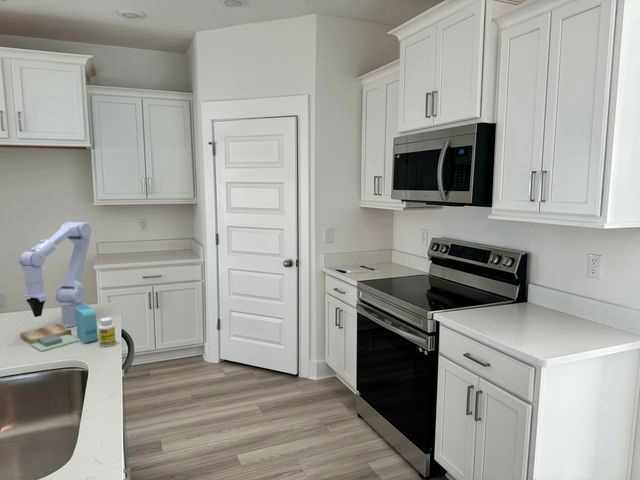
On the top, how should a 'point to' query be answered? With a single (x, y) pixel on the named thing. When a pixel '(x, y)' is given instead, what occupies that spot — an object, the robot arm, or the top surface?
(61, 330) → the oak board
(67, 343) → the green mat
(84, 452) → the top surface
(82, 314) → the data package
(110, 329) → the supplement bottle
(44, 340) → the slate tile
